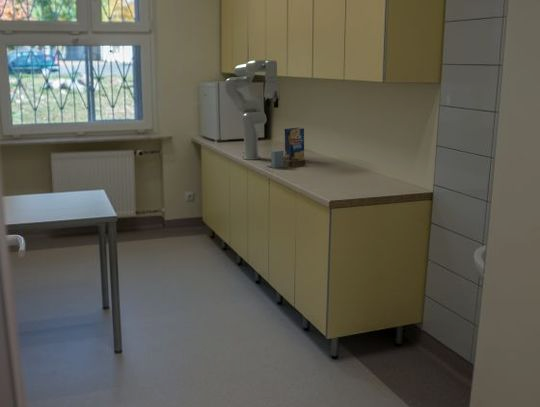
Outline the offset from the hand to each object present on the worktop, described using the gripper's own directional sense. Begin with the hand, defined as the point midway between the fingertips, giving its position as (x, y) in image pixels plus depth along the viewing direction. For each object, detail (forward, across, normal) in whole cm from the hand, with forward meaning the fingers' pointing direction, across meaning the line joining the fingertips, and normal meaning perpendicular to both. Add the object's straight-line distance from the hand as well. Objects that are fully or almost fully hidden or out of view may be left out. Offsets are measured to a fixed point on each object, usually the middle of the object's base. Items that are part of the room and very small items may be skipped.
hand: (271, 107), depth 388 cm
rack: (+36, +14, +5) cm, 39 cm away
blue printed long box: (+37, +4, +15) cm, 40 cm away
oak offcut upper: (+34, +7, +4) cm, 35 cm away
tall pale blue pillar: (+36, +16, -7) cm, 40 cm away
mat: (+36, +16, -7) cm, 40 cm away
